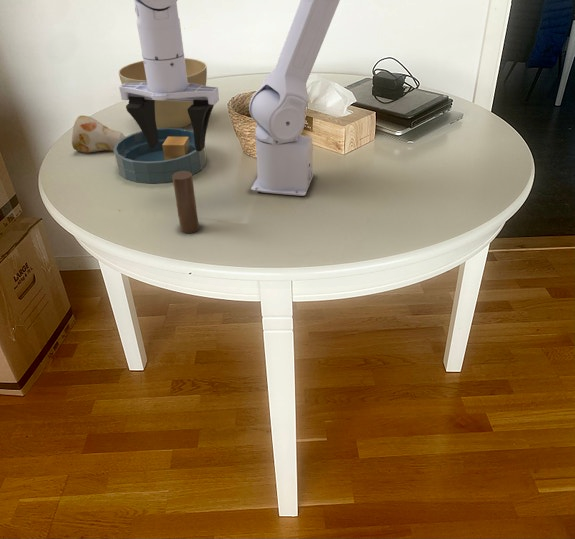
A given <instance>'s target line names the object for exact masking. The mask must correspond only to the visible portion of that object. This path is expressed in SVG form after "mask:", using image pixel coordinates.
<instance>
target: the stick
mask: <svg viewBox="0 0 575 539" xmlns="http://www.w3.org/2000/svg"><path fill="white" fill-rule="evenodd" d="M172 178H173V181H172V184H173V191H174V196H175V203H176V208H177V216H178V221H179V228H180V231H181V232H182V233H183V234H194V233H196V232H198V231H199V229H200V225H199V217H198V209H197V201H196V194H195V187H194V179H193V175H192V173H191V172H188V171H179V172H176V173H174V174H173V175H172Z"/></svg>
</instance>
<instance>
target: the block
mask: <svg viewBox="0 0 575 539" xmlns="http://www.w3.org/2000/svg"><path fill="white" fill-rule="evenodd" d="M163 152H164V158H165V160H170V159H175V158H178V157H181V156H184V155H187V154H189V153H191V151H190V144H189V137H167V139H166V140H165V142H164V143H163Z"/></svg>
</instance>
